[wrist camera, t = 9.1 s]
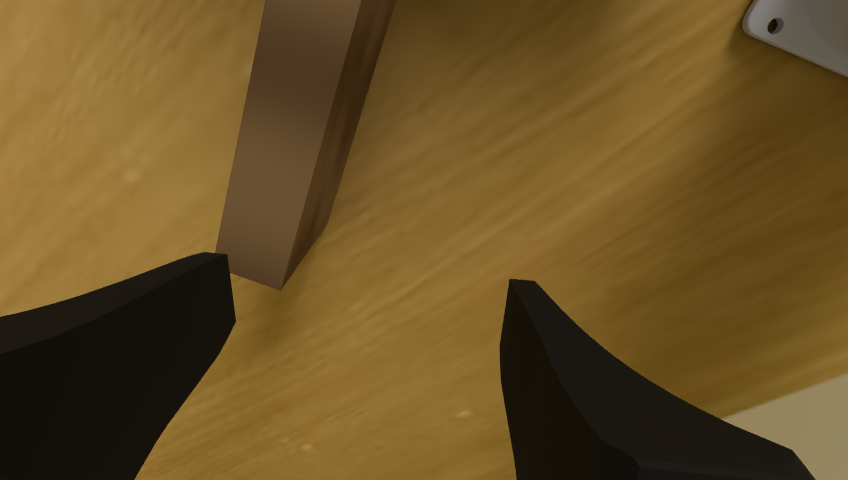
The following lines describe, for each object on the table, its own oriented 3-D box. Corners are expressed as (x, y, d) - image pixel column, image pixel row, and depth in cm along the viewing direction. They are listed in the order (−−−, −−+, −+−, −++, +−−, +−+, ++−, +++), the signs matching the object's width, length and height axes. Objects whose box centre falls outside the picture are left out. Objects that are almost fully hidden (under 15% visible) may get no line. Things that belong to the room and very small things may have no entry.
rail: (329, 224, 22) (283, 291, 16) (274, 204, 22) (209, 265, 16) (474, -246, 15) (479, -404, 9) (395, -282, 15) (353, -465, 9)
